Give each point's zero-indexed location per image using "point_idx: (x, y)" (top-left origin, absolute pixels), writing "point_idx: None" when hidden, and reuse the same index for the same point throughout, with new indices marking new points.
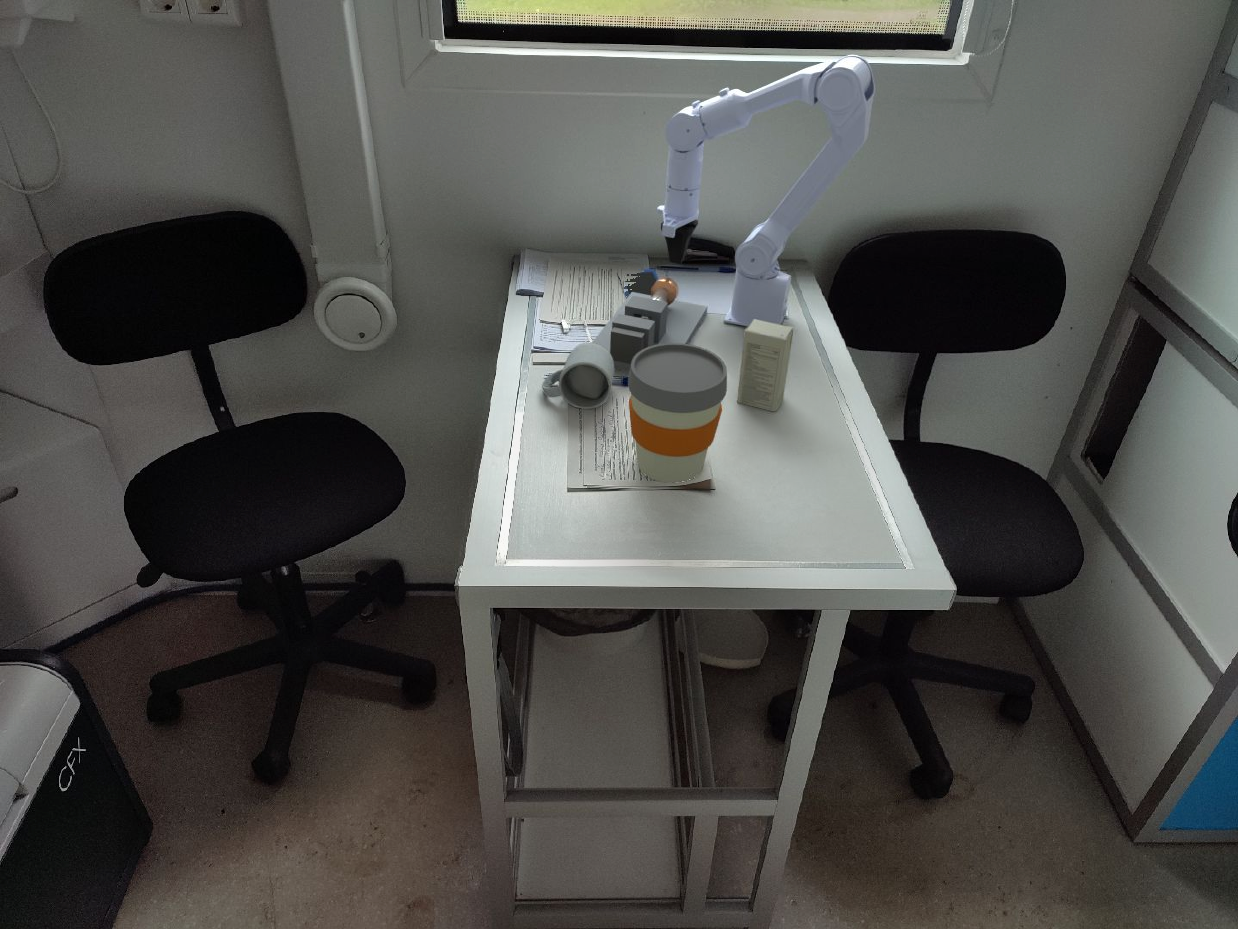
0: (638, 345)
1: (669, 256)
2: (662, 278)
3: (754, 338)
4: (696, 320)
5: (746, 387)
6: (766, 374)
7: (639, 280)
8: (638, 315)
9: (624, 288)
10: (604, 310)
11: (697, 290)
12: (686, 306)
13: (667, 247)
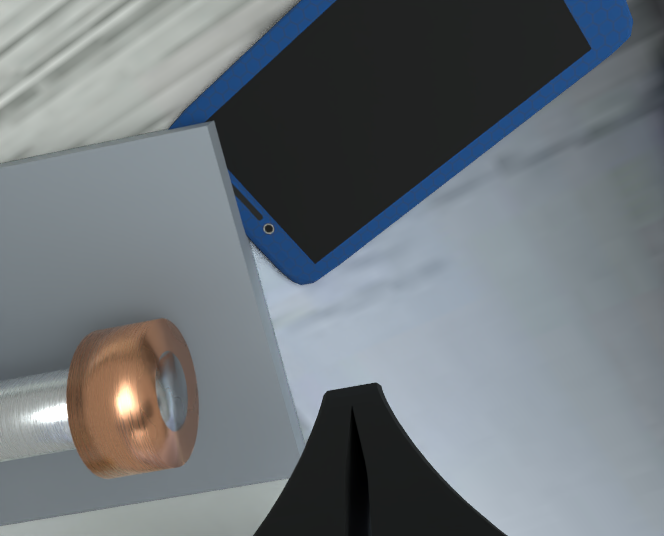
0: None
1: (317, 418)
2: (127, 418)
3: None
4: (163, 490)
5: None
6: None
7: (439, 41)
8: None
9: (290, 18)
10: (5, 58)
11: (498, 333)
12: (247, 414)
13: (300, 461)
